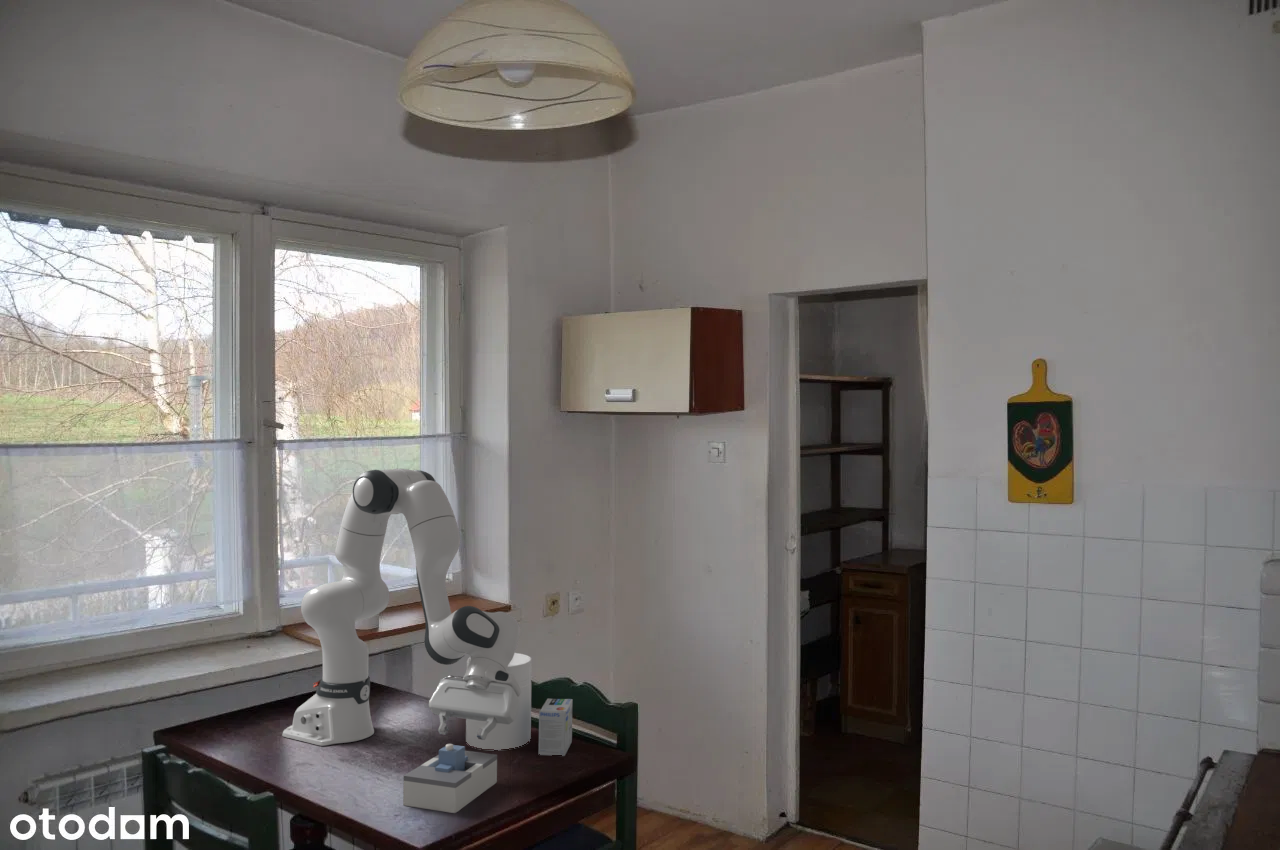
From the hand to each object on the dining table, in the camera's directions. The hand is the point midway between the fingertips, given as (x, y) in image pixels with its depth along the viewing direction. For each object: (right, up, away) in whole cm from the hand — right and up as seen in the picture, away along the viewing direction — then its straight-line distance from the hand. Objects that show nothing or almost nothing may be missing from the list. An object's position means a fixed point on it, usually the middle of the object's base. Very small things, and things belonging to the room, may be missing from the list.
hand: (461, 735), depth 202 cm
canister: (+3, -12, +31) cm, 33 cm away
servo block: (-1, -9, -4) cm, 10 cm away
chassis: (-1, -11, -4) cm, 12 cm away
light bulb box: (+18, -12, +25) cm, 33 cm away
